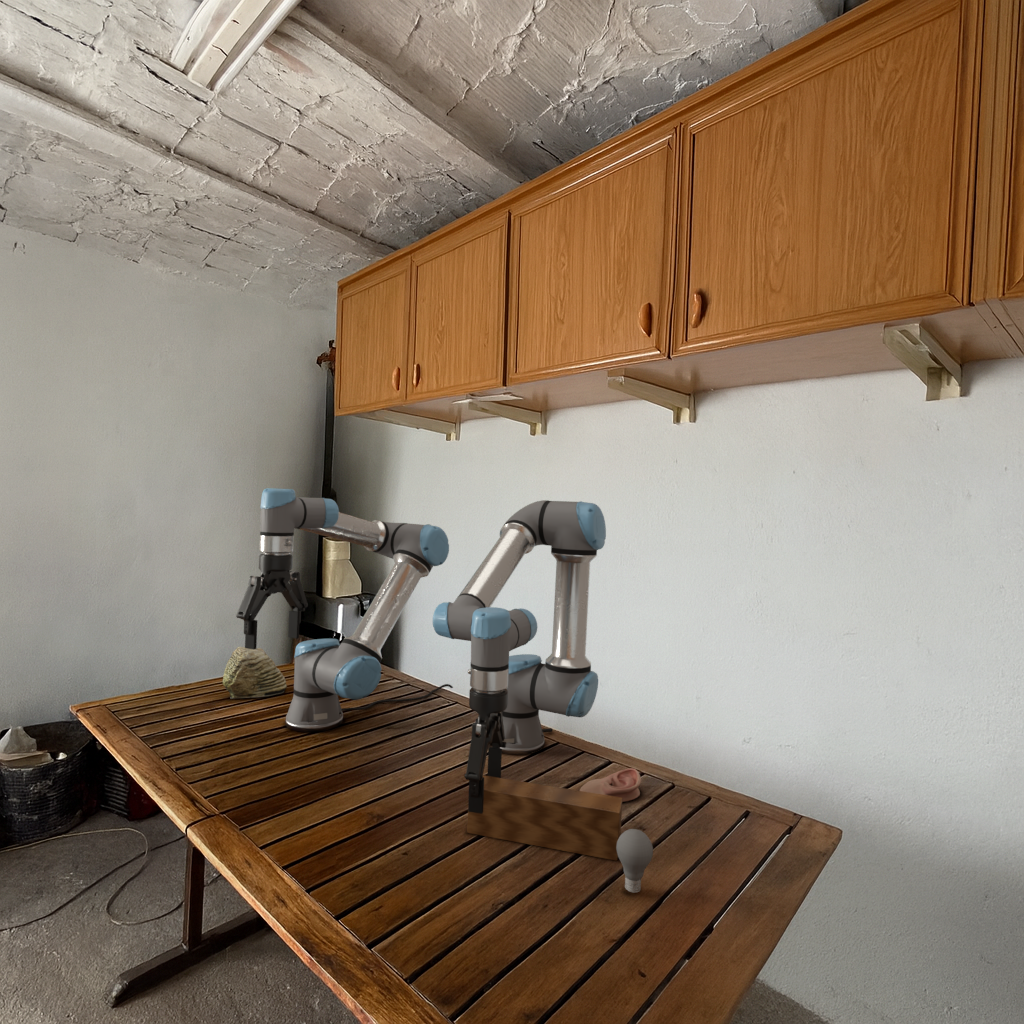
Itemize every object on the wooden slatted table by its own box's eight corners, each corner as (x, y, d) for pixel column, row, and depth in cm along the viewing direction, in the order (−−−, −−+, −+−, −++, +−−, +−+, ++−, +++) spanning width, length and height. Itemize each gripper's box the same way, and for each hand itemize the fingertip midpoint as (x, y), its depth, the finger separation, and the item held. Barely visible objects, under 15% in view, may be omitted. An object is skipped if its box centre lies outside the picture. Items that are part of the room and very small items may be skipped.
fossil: (218, 695, 195) (220, 647, 195) (278, 685, 208) (279, 640, 207) (228, 703, 189) (230, 653, 188) (289, 692, 201) (290, 645, 201)
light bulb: (610, 879, 108) (613, 822, 108) (644, 879, 109) (647, 822, 109) (619, 902, 102) (622, 840, 102) (655, 901, 103) (658, 840, 103)
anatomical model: (578, 780, 137) (583, 760, 149) (577, 799, 137) (582, 776, 149) (641, 789, 135) (641, 767, 146) (640, 807, 135) (640, 784, 146)
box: (620, 843, 120) (622, 797, 120) (617, 861, 115) (619, 812, 114) (476, 817, 128) (478, 774, 128) (466, 832, 122) (468, 787, 122)
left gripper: (246, 558, 137) (243, 655, 137) (324, 551, 160) (321, 635, 160) (221, 555, 140) (217, 651, 140) (301, 549, 163) (298, 631, 163)
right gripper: (487, 668, 137) (484, 765, 138) (450, 707, 112) (446, 824, 113) (521, 672, 135) (517, 770, 136) (490, 711, 111) (487, 830, 112)
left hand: (272, 643), depth 150 cm, fingers open, 13 cm apart
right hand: (485, 794), depth 125 cm, fingers open, 13 cm apart
